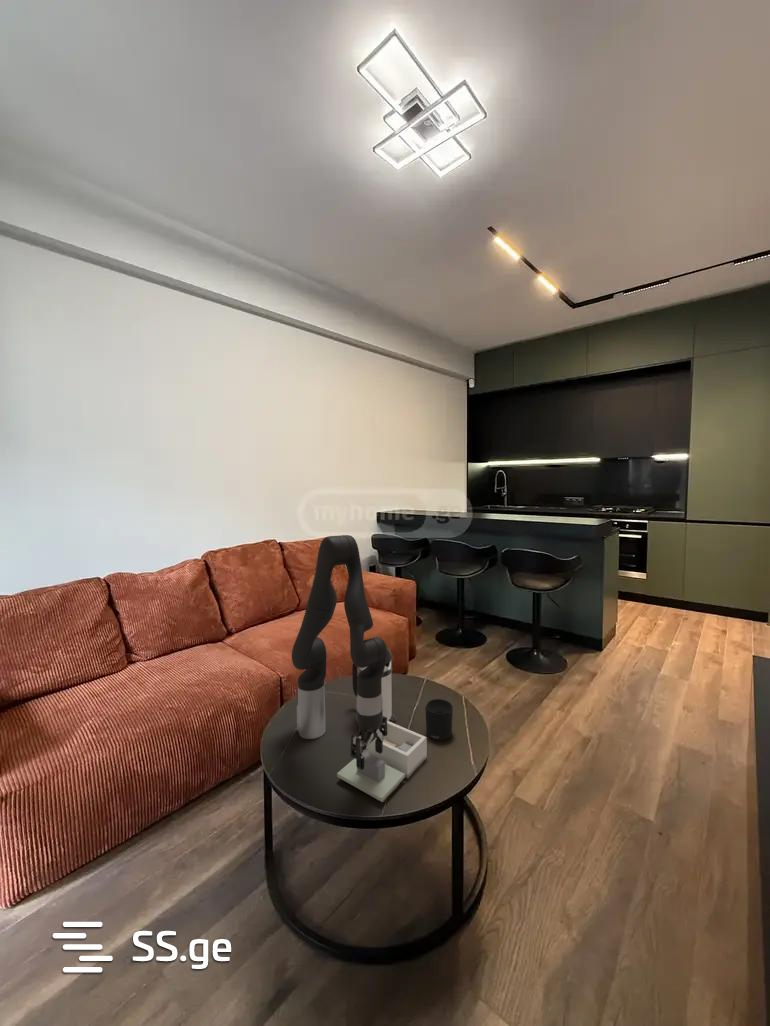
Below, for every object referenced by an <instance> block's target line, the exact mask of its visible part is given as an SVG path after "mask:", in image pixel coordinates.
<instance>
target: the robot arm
mask: <svg viewBox="0 0 770 1026" xmlns="http://www.w3.org/2000/svg"><path fill="white" fill-rule="evenodd" d="M317 553H318V554H317V558H316V566H315V571H314V577H313V582H312V584H311V590H310V593H309V596H308V598H307V603H306V606H305V611H304V615H303V618H302V622H301V624H300V628H299V630H298V631H299V632H298V633H297V637H296V639H295V641H294V644H293V646H292V650H291V661H292V664H293V666H294V668H295V669H297V670H299V671H303V672H301V674H299V676H298V678H297V701H298V702H297V703H298V704H297V705H296V728H297V730H296V731H297V732H298V734H299V735H298V736H300V737H301V738H303V739H306V740H314V739H315V740H316V739H318V738H321V737H322V736H323V735H324V734H325V732H326V701H325V700H326V697H325V695H326V693H325V680H326V676H327V659H328V658H327V647H326V645H325V642H324V641H323V639H322V638H320V637H318V636H319V635H320V633H322V632H323V630H324V629H325V628H326V627H327V626H328V624H329V623H330V621H331V620H332V619H333V615H334V612H335V609H336V606H337V603H338V596H337V593H336V589H335V587H334V585H333V582H332V575H333V571H334V568H335V567H337V566H344V565H345V569H346V570H347V576H348V577H347V578H348V580H347V587H346V591H345V594H344V603H343V607H344V611H345V617H346V619H347V623H348V627H349V640H350V642H349V643H350V645H349V653H350V658H351V661H352V664H353V663H354V664H355V665H356V666H357V668H358V667H359V668H364V667H366V668H365V669H364V670H362V671H361V672H360V673H359V674H358V673H357V675H358V677H357V697H356V716H357V718H356V719H357V722H356V724H357V726H358V732H357V733H358V734H357V735H353V734H352V736H351V737H350V757H352V758H355V759H356V766H357V767H358V768H359V769H361V770H363V769H364V754H365V752H366V750H368V748H369V745H370V743H371V742H372V741H373V740H375V751H376V752H378V753H380V754H381V753H382V749H383V740H384V736H387V734H388V731H387V717H384V716H383V705H382V683H381V679H382V675H383V672H384V668H385V664H386V660H387V648H388V646H387V644H386V642H385V640H384V639H383V638H381V637H378V636H375V637H372V638H368V639H364V638H365V637H364V635H365V633H366V632H367V631H369V630H371V629H372V628H373V627H374V621H373V617H372V614H371V610H370V606H369V604H368V600H367V596H366V591H365V585H364V576H363V570H362V563H361V557H360V551H359V547H358V543H357V540H356V539H355V537H353V535H349V534H344V535H343V534H342V535H330V536H326V537H324V538H323V539H322V540H321V542H320V544H319V549H318V552H317ZM382 728H383V729H384V730H382ZM376 738H377V739H376ZM362 743H364V744H362ZM361 749H362V750H361Z"/></svg>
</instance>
